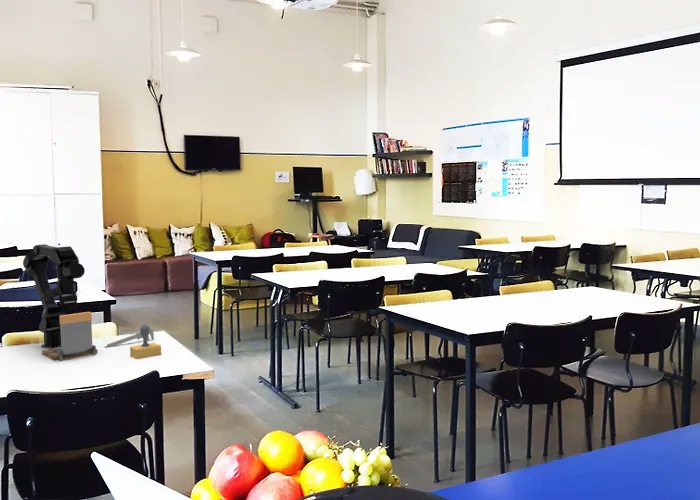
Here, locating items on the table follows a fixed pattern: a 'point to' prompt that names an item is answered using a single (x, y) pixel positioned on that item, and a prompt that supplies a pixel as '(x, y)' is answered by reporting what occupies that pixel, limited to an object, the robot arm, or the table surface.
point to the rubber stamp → (145, 346)
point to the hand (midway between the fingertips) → (70, 319)
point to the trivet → (57, 355)
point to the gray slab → (76, 333)
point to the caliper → (131, 338)
